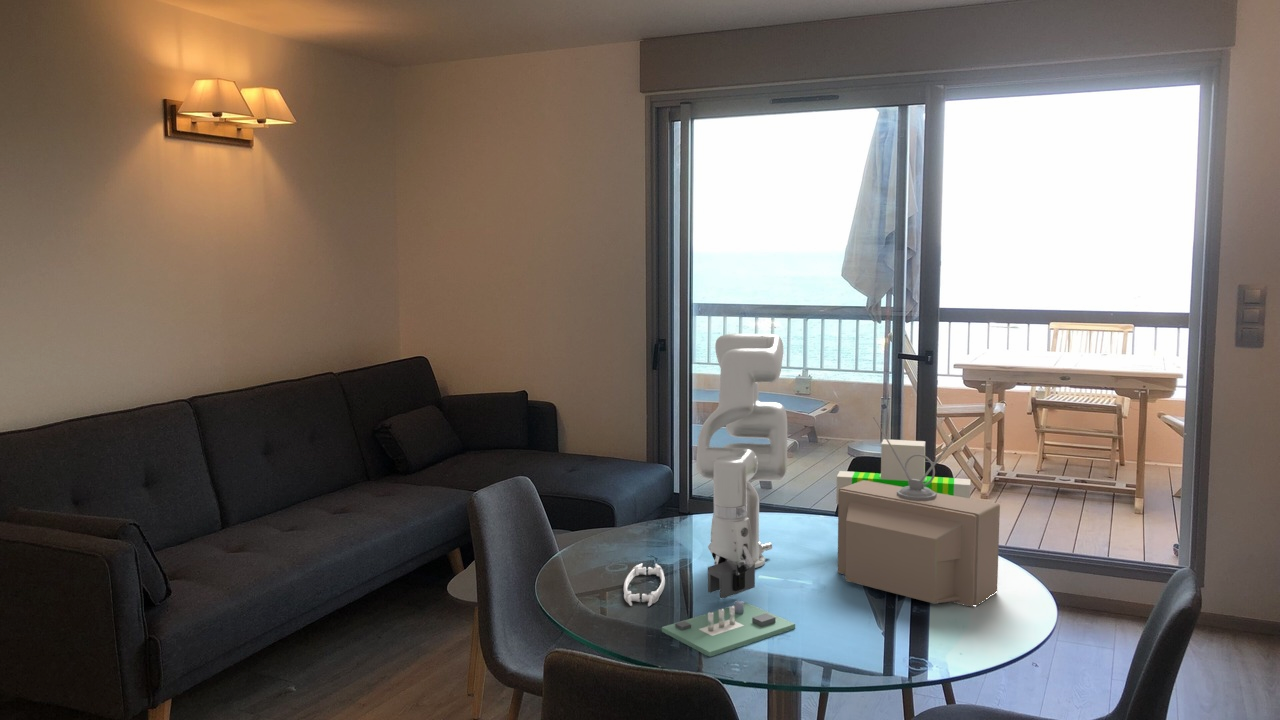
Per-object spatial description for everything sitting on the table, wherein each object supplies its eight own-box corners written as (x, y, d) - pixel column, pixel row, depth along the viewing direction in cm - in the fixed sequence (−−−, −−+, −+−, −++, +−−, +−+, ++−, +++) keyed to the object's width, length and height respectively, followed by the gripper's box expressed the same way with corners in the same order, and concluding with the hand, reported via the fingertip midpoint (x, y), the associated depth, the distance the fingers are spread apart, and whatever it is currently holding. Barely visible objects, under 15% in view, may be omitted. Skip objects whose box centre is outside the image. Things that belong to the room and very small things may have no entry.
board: (745, 606, 214) (745, 592, 214) (795, 628, 201) (795, 613, 201) (661, 631, 200) (661, 616, 200) (709, 656, 187) (709, 640, 187)
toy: (968, 554, 250) (971, 443, 246) (968, 561, 243) (971, 448, 240) (839, 542, 261) (840, 436, 258) (835, 549, 254) (837, 441, 251)
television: (999, 592, 221) (1005, 426, 217) (962, 617, 207) (967, 439, 202) (864, 560, 246) (866, 410, 242) (821, 580, 231) (823, 420, 227)
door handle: (668, 572, 239) (661, 608, 215) (629, 571, 240) (618, 607, 215) (667, 562, 239) (661, 597, 214) (629, 561, 240) (618, 596, 215)
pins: (732, 622, 202) (732, 605, 202) (736, 624, 201) (736, 606, 201) (706, 630, 198) (706, 612, 197) (710, 632, 197) (710, 614, 196)
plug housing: (740, 580, 221) (740, 556, 220) (754, 587, 217) (754, 563, 216) (708, 591, 216) (707, 567, 215) (722, 598, 212) (721, 573, 211)
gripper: (768, 516, 209) (768, 593, 212) (718, 498, 222) (719, 570, 225) (742, 523, 204) (743, 601, 207) (693, 504, 218) (694, 578, 221)
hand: (730, 584), depth 216 cm, fingers closed on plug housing, 5 cm apart
